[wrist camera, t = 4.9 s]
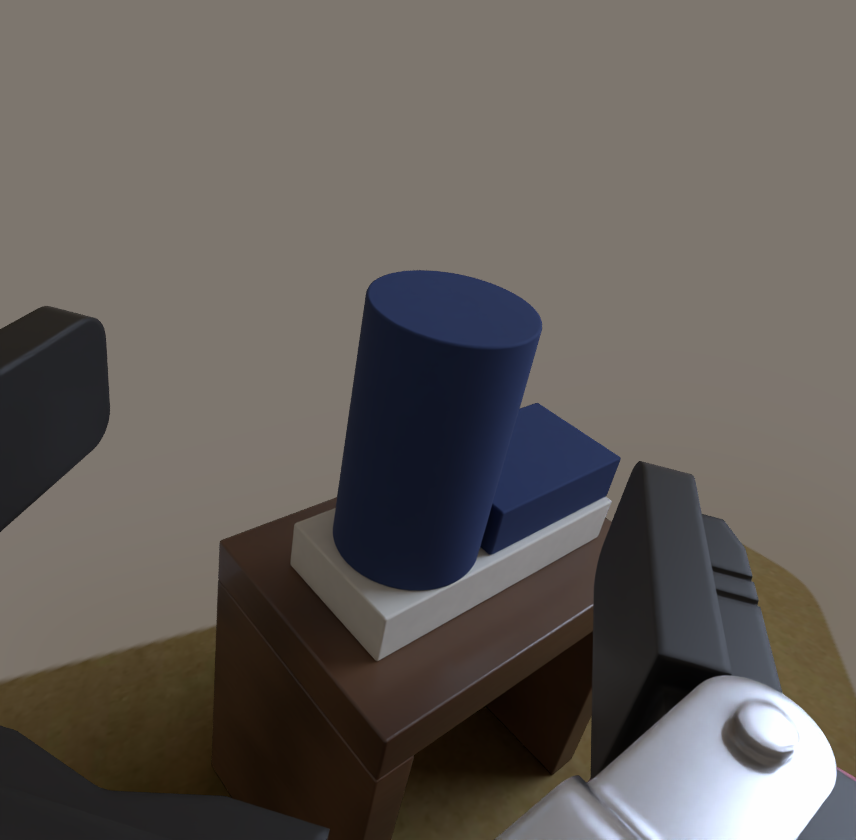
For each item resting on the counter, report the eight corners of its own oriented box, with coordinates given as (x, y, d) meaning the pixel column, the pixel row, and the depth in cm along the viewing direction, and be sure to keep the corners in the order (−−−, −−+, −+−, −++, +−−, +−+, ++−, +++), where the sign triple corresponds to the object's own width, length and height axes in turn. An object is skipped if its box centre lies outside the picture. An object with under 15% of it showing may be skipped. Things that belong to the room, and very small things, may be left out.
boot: (376, 663, 24) (438, 365, 18) (289, 565, 27) (318, 282, 21) (598, 537, 31) (692, 299, 26) (510, 471, 34) (577, 244, 29)
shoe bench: (210, 764, 35) (218, 539, 27) (444, 630, 44) (496, 437, 37) (333, 961, 29) (385, 742, 22) (571, 758, 38) (664, 559, 31)
